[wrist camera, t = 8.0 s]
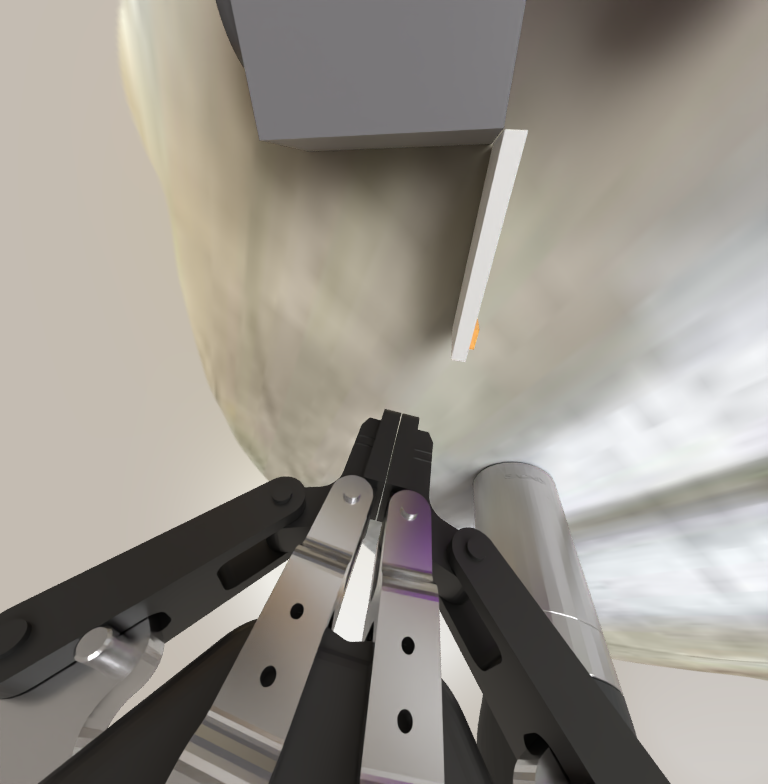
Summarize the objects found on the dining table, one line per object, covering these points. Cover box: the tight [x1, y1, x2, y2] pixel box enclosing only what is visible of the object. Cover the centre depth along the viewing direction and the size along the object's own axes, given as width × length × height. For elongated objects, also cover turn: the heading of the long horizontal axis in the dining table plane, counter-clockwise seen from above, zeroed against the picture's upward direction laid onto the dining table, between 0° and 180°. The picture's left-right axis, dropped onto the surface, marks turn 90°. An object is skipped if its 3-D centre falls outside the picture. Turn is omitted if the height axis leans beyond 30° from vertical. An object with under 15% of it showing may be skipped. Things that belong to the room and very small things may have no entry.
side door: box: [451, 129, 528, 362], centre depth 18 cm, size 2×12×5 cm, turn 177°
